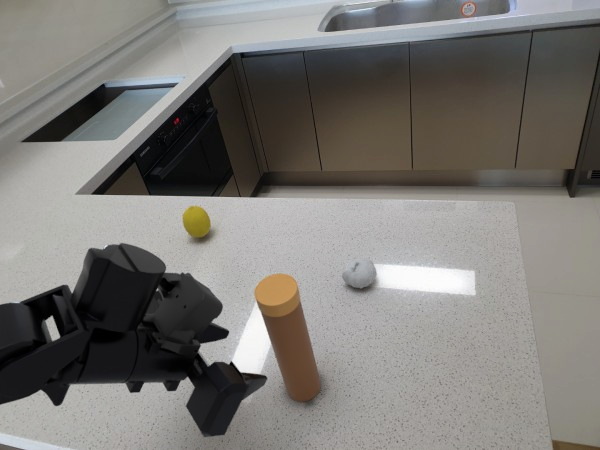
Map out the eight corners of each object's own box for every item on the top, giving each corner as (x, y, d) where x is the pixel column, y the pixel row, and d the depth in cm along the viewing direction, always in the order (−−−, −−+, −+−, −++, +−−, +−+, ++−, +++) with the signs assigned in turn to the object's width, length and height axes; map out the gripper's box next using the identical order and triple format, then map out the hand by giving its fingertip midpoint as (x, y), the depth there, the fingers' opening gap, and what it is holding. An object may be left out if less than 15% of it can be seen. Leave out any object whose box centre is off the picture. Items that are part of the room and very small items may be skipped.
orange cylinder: (302, 409, 63) (272, 312, 51) (278, 387, 67) (245, 291, 55) (329, 384, 66) (306, 286, 54) (304, 364, 69) (278, 267, 57)
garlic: (354, 299, 78) (351, 277, 74) (338, 280, 82) (334, 258, 79) (384, 284, 79) (382, 262, 76) (367, 266, 83) (364, 245, 80)
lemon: (212, 243, 97) (201, 212, 92) (187, 246, 97) (174, 216, 92) (216, 227, 101) (206, 197, 96) (192, 230, 102) (180, 200, 97)
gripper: (197, 339, 37) (322, 345, 48) (124, 239, 50) (236, 262, 61) (144, 450, 39) (276, 432, 50) (87, 325, 52) (202, 333, 63)
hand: (245, 355), depth 56 cm, fingers open, 9 cm apart
